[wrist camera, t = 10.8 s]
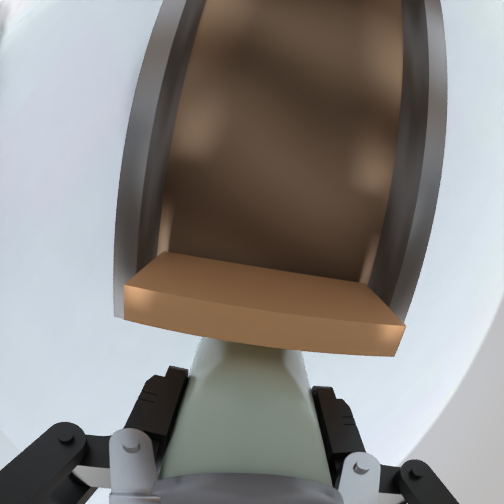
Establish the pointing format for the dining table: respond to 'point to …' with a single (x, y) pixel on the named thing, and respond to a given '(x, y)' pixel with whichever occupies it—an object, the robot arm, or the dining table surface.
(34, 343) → the dining table surface
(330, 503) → the jar
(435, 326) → the dining table surface
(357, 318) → the plate
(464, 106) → the dining table surface
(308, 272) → the grey wooden tray
